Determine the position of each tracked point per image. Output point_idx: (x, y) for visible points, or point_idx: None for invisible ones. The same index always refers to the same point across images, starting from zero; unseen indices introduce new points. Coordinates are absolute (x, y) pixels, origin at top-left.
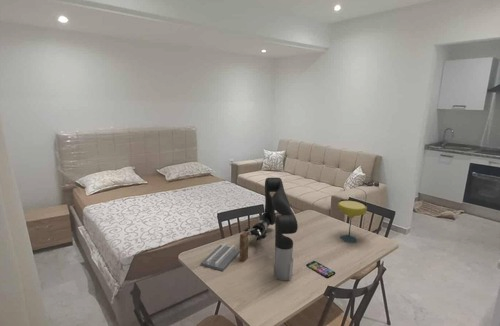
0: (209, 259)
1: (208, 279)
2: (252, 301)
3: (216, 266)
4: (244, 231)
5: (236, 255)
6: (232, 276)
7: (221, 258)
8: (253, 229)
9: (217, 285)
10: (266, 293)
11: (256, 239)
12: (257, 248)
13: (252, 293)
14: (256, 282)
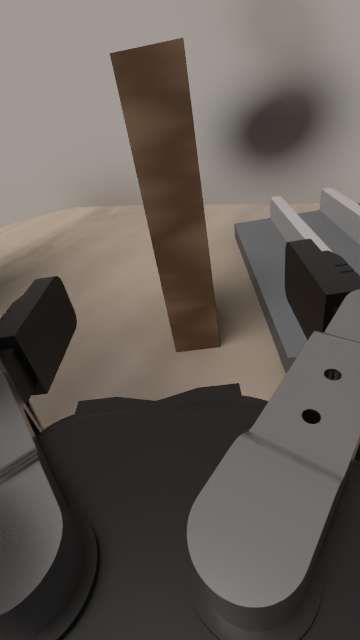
0: (330, 192)
1: (251, 208)
2: (72, 225)
3: (271, 215)
4: (166, 42)
5: (266, 314)
6: None
7: (283, 213)
8: (244, 445)
9: None
10: (29, 249)
11: (68, 297)
12: None
13: (76, 235)
14: (69, 259)
